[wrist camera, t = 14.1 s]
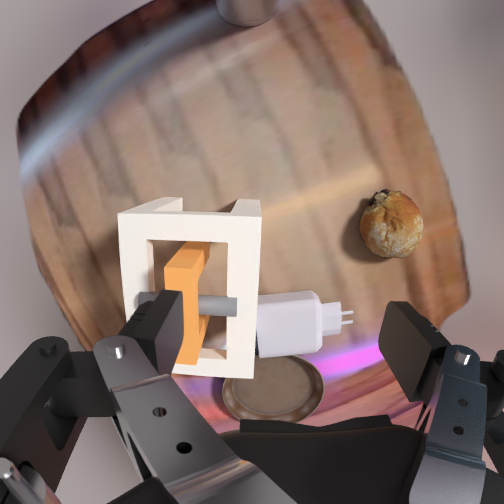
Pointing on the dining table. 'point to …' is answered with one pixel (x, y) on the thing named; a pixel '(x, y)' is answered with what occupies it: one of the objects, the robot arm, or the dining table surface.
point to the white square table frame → (233, 305)
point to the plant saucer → (276, 390)
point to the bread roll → (391, 225)
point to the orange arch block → (189, 296)
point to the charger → (295, 323)
